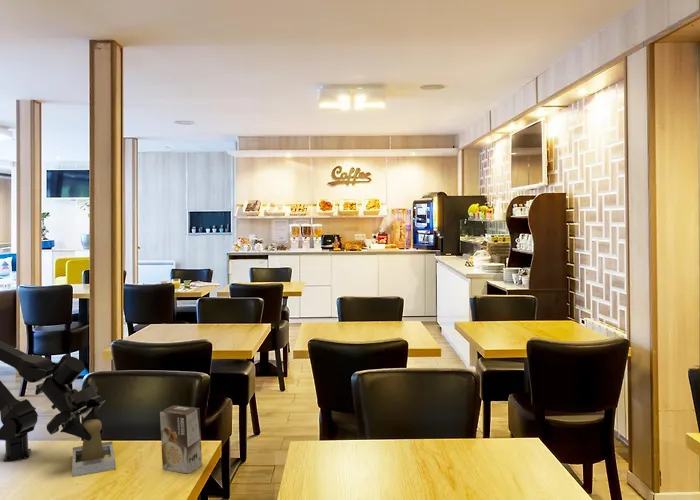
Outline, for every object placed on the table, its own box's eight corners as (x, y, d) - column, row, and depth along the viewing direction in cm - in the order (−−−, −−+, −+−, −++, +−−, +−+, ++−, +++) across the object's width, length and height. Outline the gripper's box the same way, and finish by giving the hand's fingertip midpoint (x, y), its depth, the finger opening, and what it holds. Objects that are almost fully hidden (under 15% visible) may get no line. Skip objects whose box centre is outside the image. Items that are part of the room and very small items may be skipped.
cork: (103, 461, 167) (102, 422, 166) (80, 464, 165) (79, 425, 164) (104, 453, 173) (103, 416, 172) (81, 456, 171) (80, 418, 170)
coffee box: (203, 465, 165) (201, 407, 165) (188, 474, 160) (186, 414, 159) (176, 460, 169) (174, 404, 168) (160, 469, 163) (158, 411, 162)
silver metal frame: (73, 455, 174) (72, 447, 174) (112, 449, 178) (112, 441, 178) (72, 476, 160) (72, 467, 159) (115, 468, 164) (115, 460, 164)
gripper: (54, 385, 159) (92, 429, 157) (98, 368, 177) (133, 407, 176) (30, 412, 161) (67, 456, 160) (75, 392, 180) (109, 431, 178)
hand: (96, 436), depth 168 cm, fingers closed on cork, 5 cm apart
